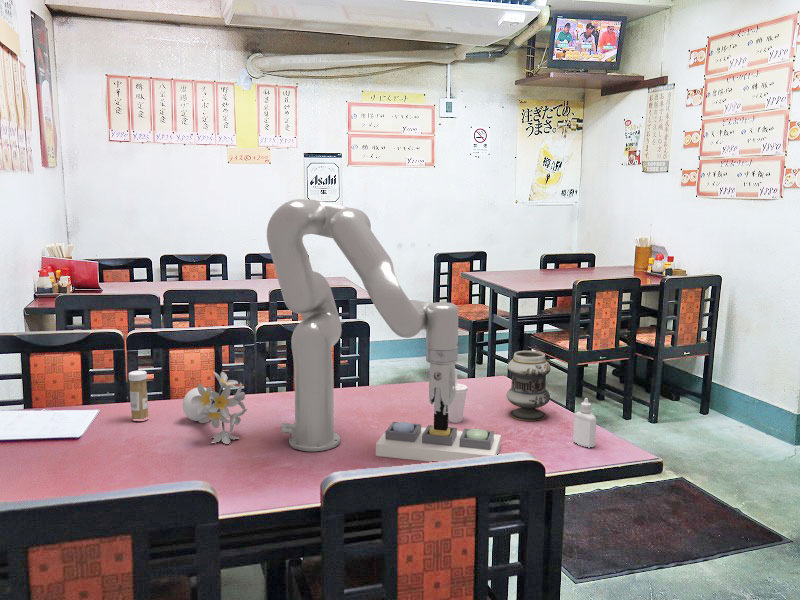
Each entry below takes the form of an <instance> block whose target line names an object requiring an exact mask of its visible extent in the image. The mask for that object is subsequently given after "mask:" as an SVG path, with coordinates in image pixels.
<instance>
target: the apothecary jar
mask: <svg viewBox="0 0 800 600" xmlns="http://www.w3.org/2000/svg"><path fill="white" fill-rule="evenodd" d="M507 369H508V371H509V372H510V373H511V387H510V388H509V389H508V391H507V393H506V398H507V400H508V401H509V403H511V404H512V405H514V406H516V407H517V408H516V409H512V410H511V411H510V413H509V415H510V417H511V418H513V419H516V420H518V421H526V422H535V421H536V420H538V421H541V419H542V420H544V419H546V413H545V412H544V411H542V410H540V409H539V408H542V407H544V406H545V405H547V404H548V403H549V402H550V399H551V394H550V392H549V391H548V389H547V388H546V387H547V385H546V383H547V382H546V381H547V380H546V379H547V375H549V373H550V372H551V369H552V367H551V365H550V362H548V361H547V360H546V355H545V353H544V352H541V351H536V350H519V351H515V352H514V354H513V357H512V359H511V360H509V362H508V364H507ZM543 418H544V419H543Z"/></svg>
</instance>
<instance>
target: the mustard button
mask: <svg viewBox="0 0 800 600" xmlns="http://www.w3.org/2000/svg"><path fill="white" fill-rule="evenodd" d="M449 427H450V426H448V429H447V430H446V431H444V430H435V429H434V425H433V426H432V427H430V430H429V435H440V436H450V428H449Z"/></svg>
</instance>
